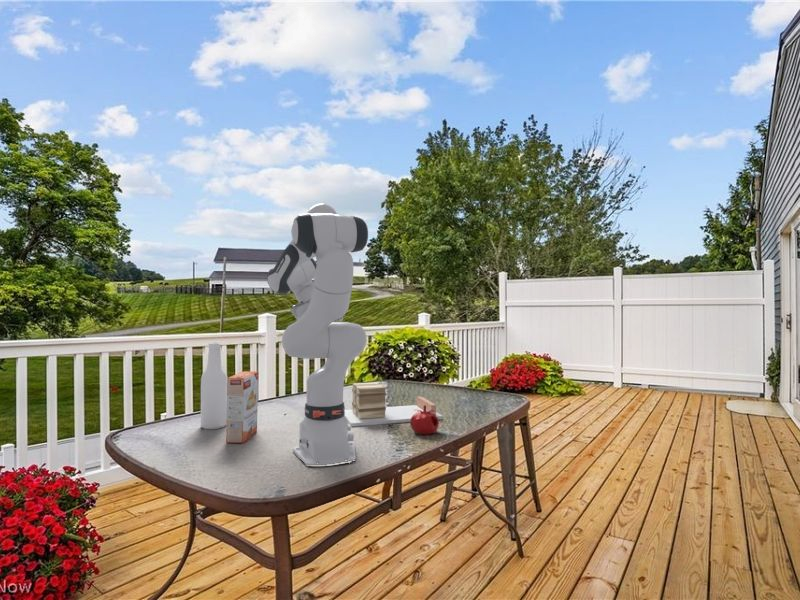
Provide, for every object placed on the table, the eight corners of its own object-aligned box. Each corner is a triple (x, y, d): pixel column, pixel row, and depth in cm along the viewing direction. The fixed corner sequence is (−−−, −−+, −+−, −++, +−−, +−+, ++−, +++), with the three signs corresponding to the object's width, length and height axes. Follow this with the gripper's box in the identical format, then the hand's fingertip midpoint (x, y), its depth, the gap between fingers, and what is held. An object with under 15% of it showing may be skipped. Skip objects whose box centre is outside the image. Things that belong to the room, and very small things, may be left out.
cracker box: (244, 443, 145) (244, 377, 144) (225, 443, 145) (225, 377, 145) (258, 431, 159) (259, 370, 158) (241, 430, 159) (241, 370, 159)
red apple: (410, 436, 154) (410, 408, 154) (410, 428, 164) (410, 402, 164) (439, 437, 154) (439, 409, 154) (437, 428, 164) (438, 402, 164)
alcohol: (204, 423, 167) (204, 341, 167) (229, 422, 169) (229, 341, 169) (197, 430, 159) (198, 344, 158) (224, 429, 160) (225, 343, 160)
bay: (442, 419, 176) (442, 405, 176) (351, 426, 165) (351, 412, 165) (424, 407, 195) (424, 395, 195) (340, 413, 184) (340, 400, 184)
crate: (385, 416, 173) (386, 387, 173) (358, 418, 170) (359, 389, 170) (377, 409, 185) (377, 382, 185) (351, 411, 182) (352, 383, 182)
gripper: (290, 303, 163) (313, 333, 161) (332, 283, 177) (354, 310, 175) (285, 312, 168) (308, 341, 166) (327, 291, 182) (348, 318, 179)
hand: (332, 325), depth 170 cm, fingers open, 8 cm apart
